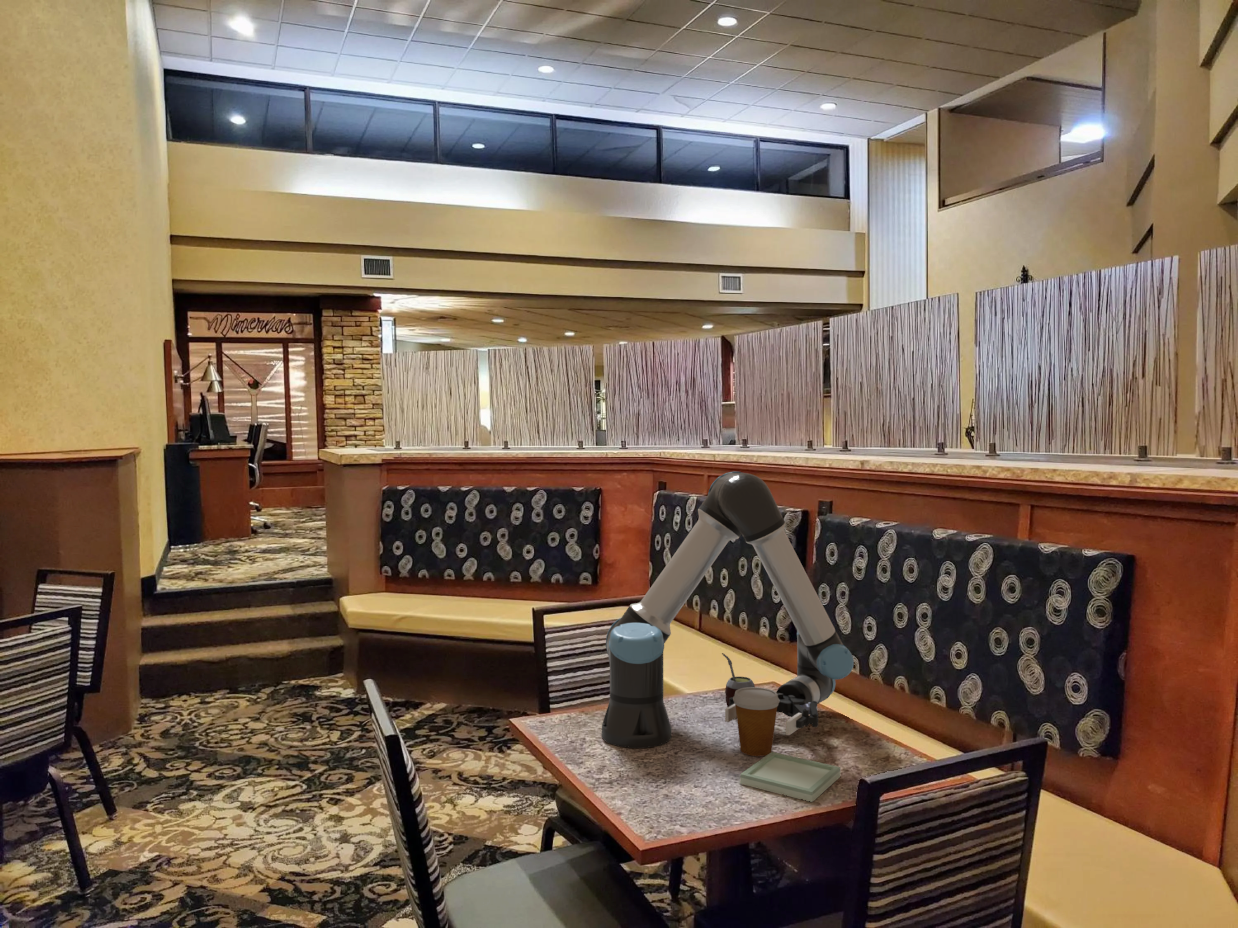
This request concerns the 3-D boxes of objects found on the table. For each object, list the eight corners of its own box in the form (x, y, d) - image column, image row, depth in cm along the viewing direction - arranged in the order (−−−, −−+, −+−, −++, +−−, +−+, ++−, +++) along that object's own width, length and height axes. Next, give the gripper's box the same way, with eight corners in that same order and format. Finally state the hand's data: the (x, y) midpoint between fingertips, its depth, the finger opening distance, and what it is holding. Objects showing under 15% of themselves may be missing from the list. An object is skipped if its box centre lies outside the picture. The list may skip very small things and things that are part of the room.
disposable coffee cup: (779, 761, 164) (779, 701, 164) (731, 757, 166) (731, 698, 165) (779, 744, 173) (779, 687, 173) (734, 741, 175) (734, 685, 175)
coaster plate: (740, 783, 153) (740, 773, 153) (772, 760, 164) (772, 751, 164) (811, 802, 144) (812, 791, 144) (840, 776, 156) (840, 767, 156)
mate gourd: (756, 709, 197) (756, 647, 197) (754, 719, 189) (754, 654, 189) (725, 707, 198) (725, 645, 198) (721, 717, 191) (721, 653, 191)
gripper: (851, 723, 179) (814, 752, 161) (747, 703, 193) (702, 728, 176) (851, 688, 179) (814, 714, 161) (747, 671, 193) (703, 693, 175)
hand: (756, 721), depth 168 cm, fingers open, 13 cm apart
